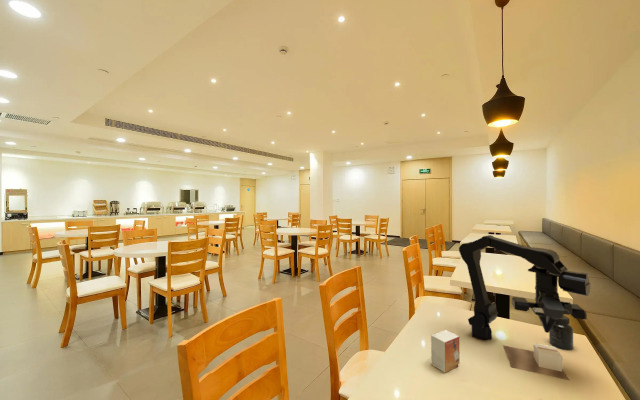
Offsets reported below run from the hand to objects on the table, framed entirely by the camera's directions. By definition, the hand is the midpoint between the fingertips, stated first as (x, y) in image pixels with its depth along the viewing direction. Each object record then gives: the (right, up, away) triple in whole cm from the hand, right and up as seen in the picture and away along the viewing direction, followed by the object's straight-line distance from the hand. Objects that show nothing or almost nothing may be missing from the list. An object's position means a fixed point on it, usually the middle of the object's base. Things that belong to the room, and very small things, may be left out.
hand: (546, 332), depth 90 cm
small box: (-34, -13, +2) cm, 36 cm away
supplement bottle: (+15, -12, +11) cm, 22 cm away
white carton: (0, -11, 0) cm, 11 cm away
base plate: (-3, -12, +2) cm, 13 cm away
